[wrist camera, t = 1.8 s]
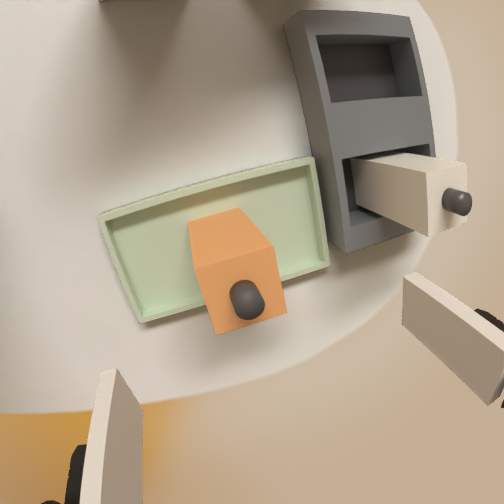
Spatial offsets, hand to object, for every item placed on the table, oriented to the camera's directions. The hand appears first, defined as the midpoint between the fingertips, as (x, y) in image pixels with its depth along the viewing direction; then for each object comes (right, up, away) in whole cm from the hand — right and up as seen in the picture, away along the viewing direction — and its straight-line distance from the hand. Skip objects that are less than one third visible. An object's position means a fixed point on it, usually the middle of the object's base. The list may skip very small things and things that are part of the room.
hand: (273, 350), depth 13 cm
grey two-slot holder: (+9, +16, +14) cm, 23 cm away
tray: (-4, +5, +14) cm, 16 cm away
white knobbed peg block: (+10, +11, +15) cm, 21 cm away
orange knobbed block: (-4, +5, +14) cm, 15 cm away
